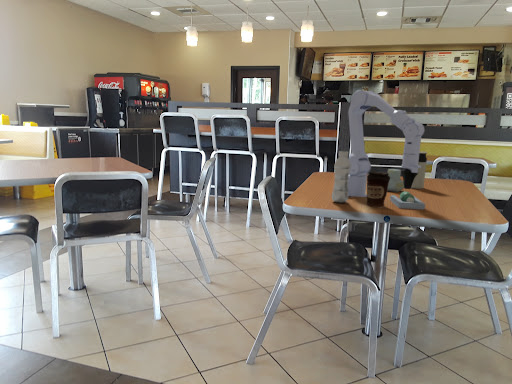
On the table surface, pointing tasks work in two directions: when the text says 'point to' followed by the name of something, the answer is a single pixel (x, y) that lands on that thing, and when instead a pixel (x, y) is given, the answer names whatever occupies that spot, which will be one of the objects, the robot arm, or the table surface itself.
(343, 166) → the plastic bottle
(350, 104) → the robot arm
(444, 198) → the table surface
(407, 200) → the bottle
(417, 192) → the table surface
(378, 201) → the coffee cup
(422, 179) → the travel mug
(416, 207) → the cradle
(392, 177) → the air freshener
